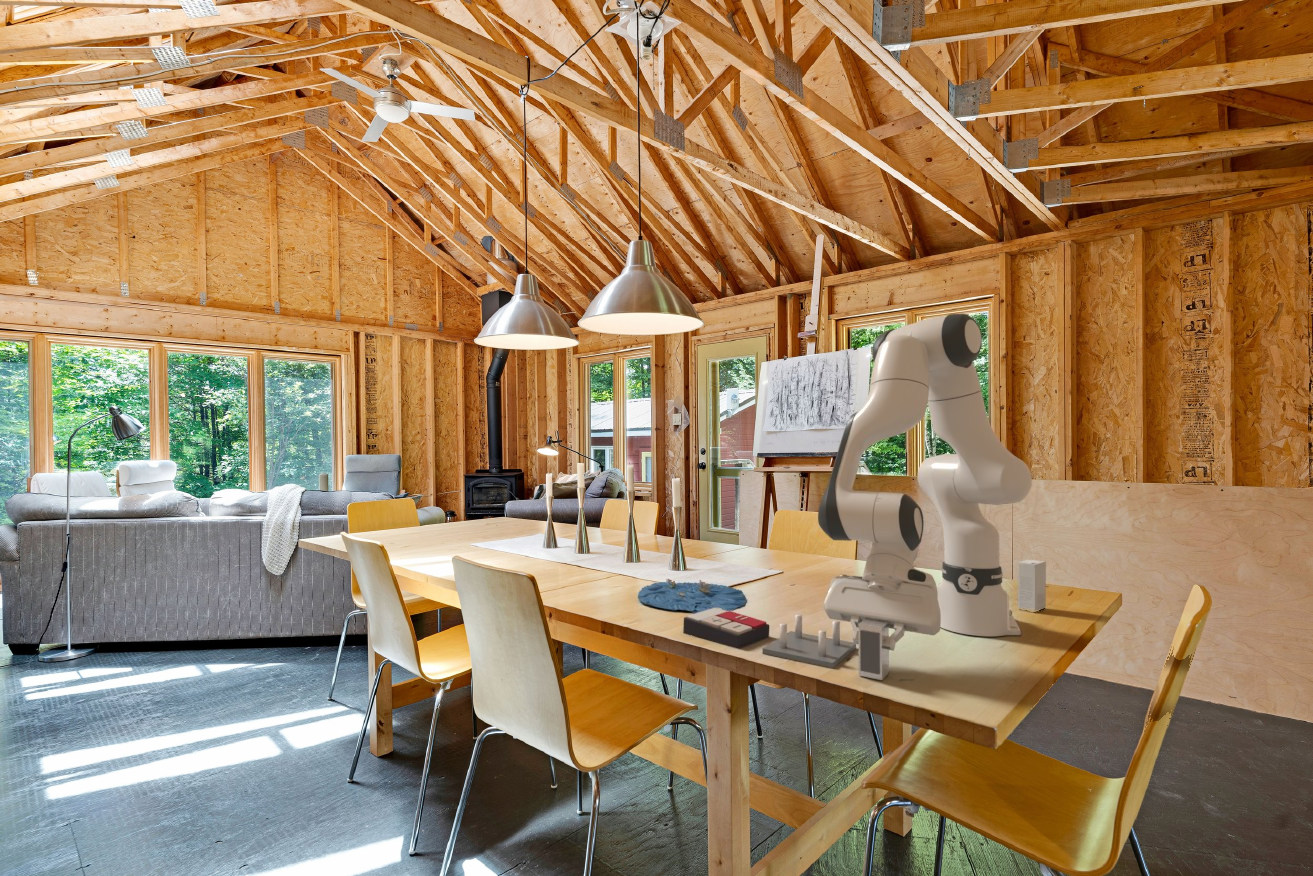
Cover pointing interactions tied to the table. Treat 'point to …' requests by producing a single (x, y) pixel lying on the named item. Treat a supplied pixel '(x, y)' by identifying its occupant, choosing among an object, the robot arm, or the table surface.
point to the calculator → (726, 627)
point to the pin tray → (810, 646)
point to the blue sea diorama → (691, 596)
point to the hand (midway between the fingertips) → (872, 645)
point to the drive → (873, 649)
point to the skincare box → (1032, 585)
